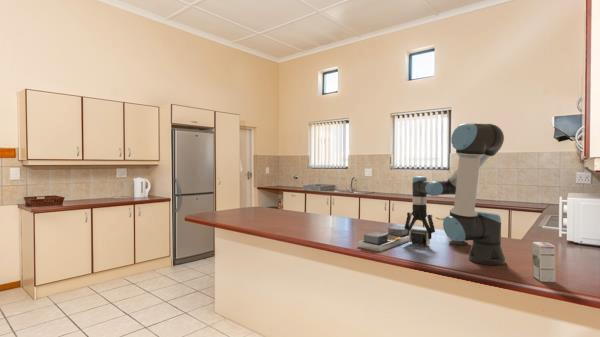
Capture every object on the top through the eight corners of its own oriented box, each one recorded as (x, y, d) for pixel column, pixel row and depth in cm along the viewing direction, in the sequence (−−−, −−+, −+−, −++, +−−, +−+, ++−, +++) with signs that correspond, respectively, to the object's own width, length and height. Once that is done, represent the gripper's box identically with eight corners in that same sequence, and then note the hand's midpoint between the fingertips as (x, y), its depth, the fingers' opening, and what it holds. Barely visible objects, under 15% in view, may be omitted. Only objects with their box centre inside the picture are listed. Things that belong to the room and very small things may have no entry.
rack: (415, 238, 202) (415, 227, 202) (380, 251, 174) (380, 238, 174) (394, 235, 212) (394, 224, 212) (358, 246, 184) (358, 234, 184)
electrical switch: (429, 245, 186) (428, 229, 186) (427, 248, 182) (426, 232, 181) (412, 243, 192) (411, 227, 191) (409, 246, 187) (409, 230, 186)
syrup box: (556, 282, 128) (556, 245, 128) (539, 281, 129) (539, 244, 129) (547, 277, 134) (548, 242, 134) (531, 276, 135) (531, 241, 135)
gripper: (441, 204, 181) (441, 245, 182) (404, 201, 197) (404, 238, 197) (436, 206, 176) (436, 247, 176) (398, 202, 192) (398, 240, 192)
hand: (419, 243), depth 187 cm, fingers closed on electrical switch, 9 cm apart
